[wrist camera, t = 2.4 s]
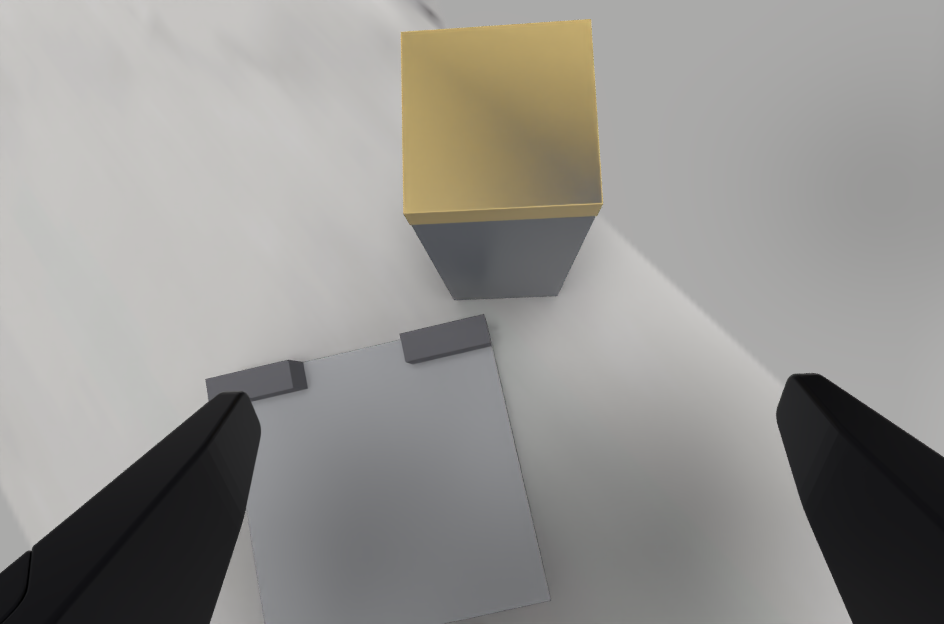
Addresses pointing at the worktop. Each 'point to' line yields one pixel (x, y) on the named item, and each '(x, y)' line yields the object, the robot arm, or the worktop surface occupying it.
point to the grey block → (501, 153)
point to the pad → (389, 484)
